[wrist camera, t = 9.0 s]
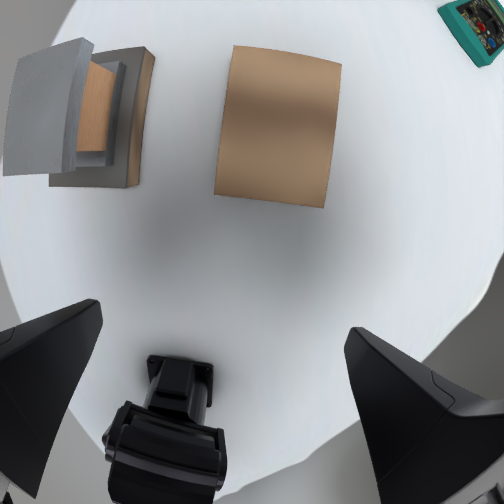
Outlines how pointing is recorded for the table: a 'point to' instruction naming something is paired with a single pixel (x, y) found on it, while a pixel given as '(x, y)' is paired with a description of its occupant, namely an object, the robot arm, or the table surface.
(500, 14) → the digital multimeter
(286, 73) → the stand
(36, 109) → the block
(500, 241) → the table surface
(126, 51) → the stand
